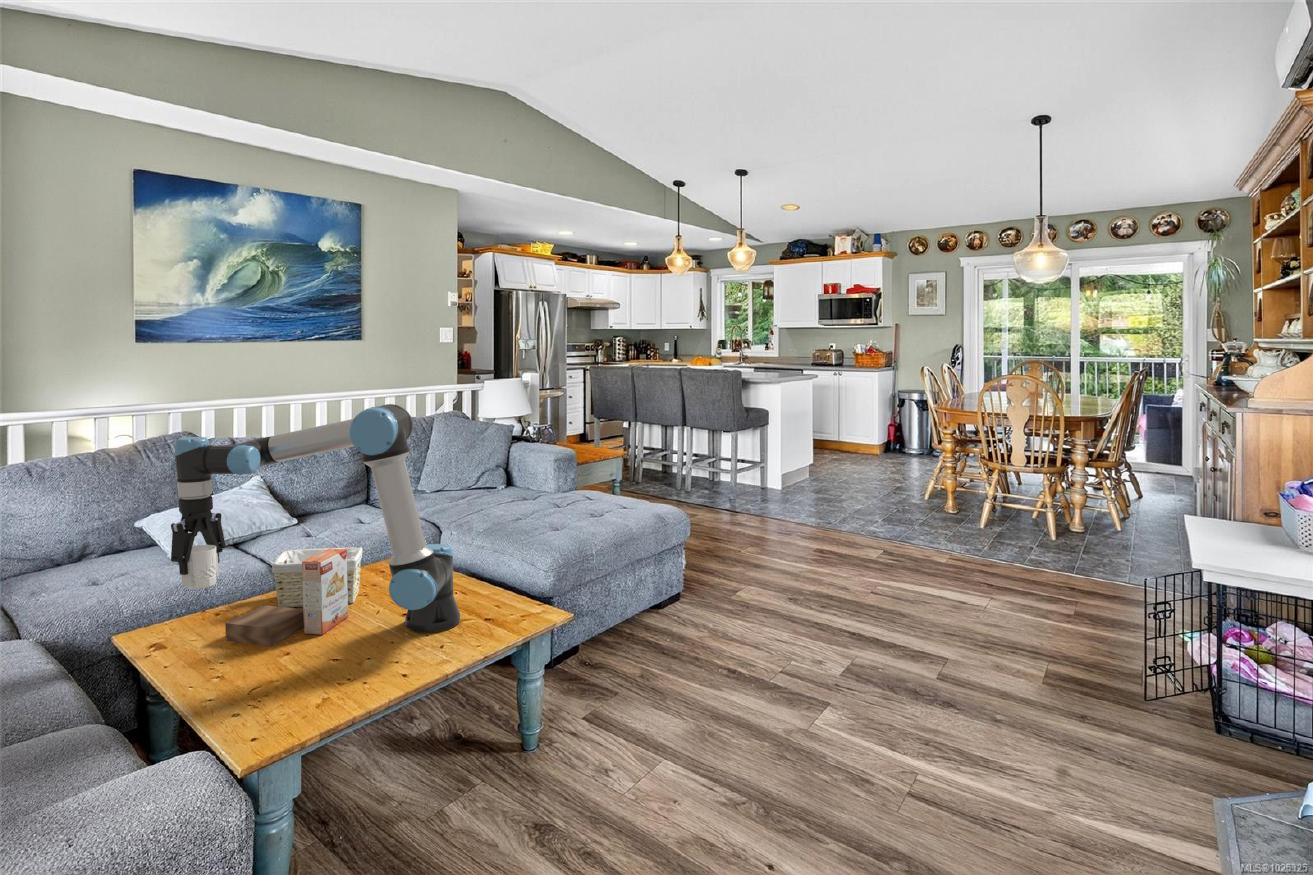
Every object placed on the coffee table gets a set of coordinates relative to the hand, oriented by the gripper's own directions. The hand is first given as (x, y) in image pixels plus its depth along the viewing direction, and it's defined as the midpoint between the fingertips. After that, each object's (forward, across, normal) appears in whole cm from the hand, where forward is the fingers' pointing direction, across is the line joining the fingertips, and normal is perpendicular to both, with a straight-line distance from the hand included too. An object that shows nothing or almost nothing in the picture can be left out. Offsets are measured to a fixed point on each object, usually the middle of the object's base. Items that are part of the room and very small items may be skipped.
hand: (201, 580), depth 189 cm
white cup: (+1, 0, 0) cm, 1 cm away
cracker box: (+17, -18, +24) cm, 34 cm away
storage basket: (+17, -36, +8) cm, 41 cm away
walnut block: (+17, -9, +12) cm, 22 cm away
